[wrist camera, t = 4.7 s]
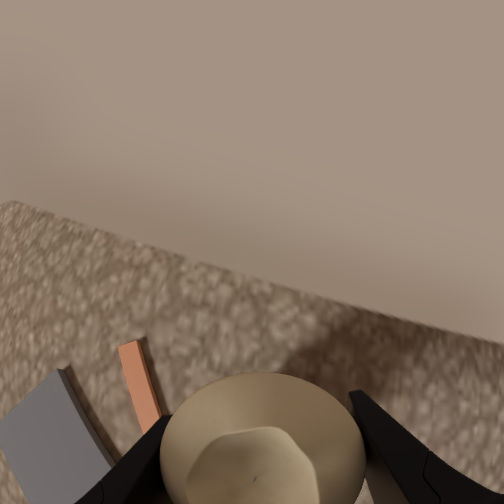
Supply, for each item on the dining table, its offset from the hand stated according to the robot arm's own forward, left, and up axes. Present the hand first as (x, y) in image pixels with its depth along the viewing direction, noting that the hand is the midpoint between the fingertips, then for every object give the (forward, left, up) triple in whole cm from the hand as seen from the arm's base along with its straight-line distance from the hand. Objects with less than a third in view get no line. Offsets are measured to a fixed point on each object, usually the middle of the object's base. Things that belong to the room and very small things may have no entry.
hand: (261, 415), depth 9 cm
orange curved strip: (+1, +8, -8) cm, 12 cm away
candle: (-1, +1, -7) cm, 7 cm away
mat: (+6, +17, -8) cm, 20 cm away
